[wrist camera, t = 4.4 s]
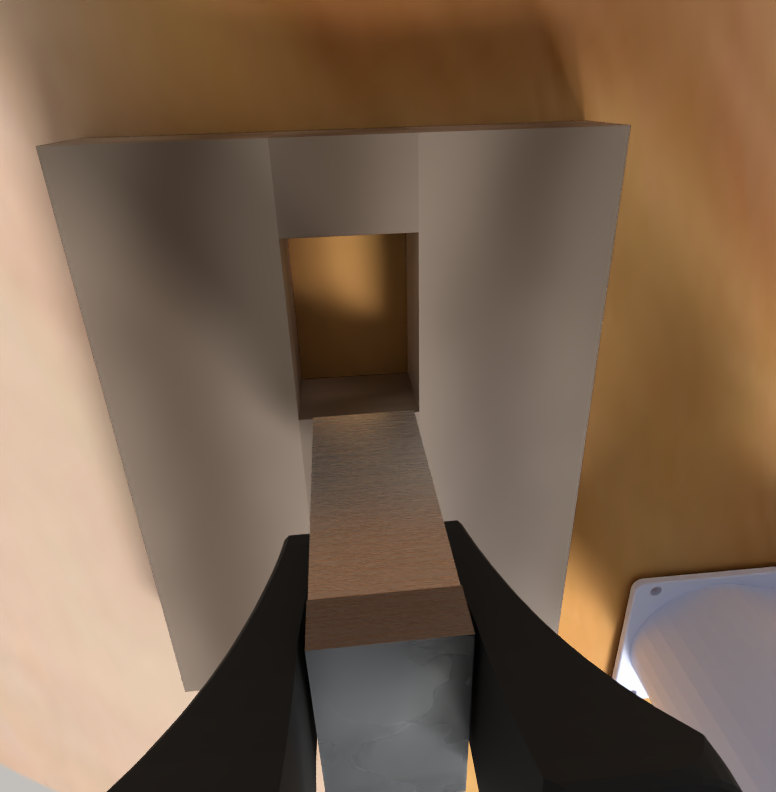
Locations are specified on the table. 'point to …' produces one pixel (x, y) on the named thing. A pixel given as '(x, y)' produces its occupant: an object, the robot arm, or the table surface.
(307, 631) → the brushed metal block
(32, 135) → the table surface
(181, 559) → the post foot
